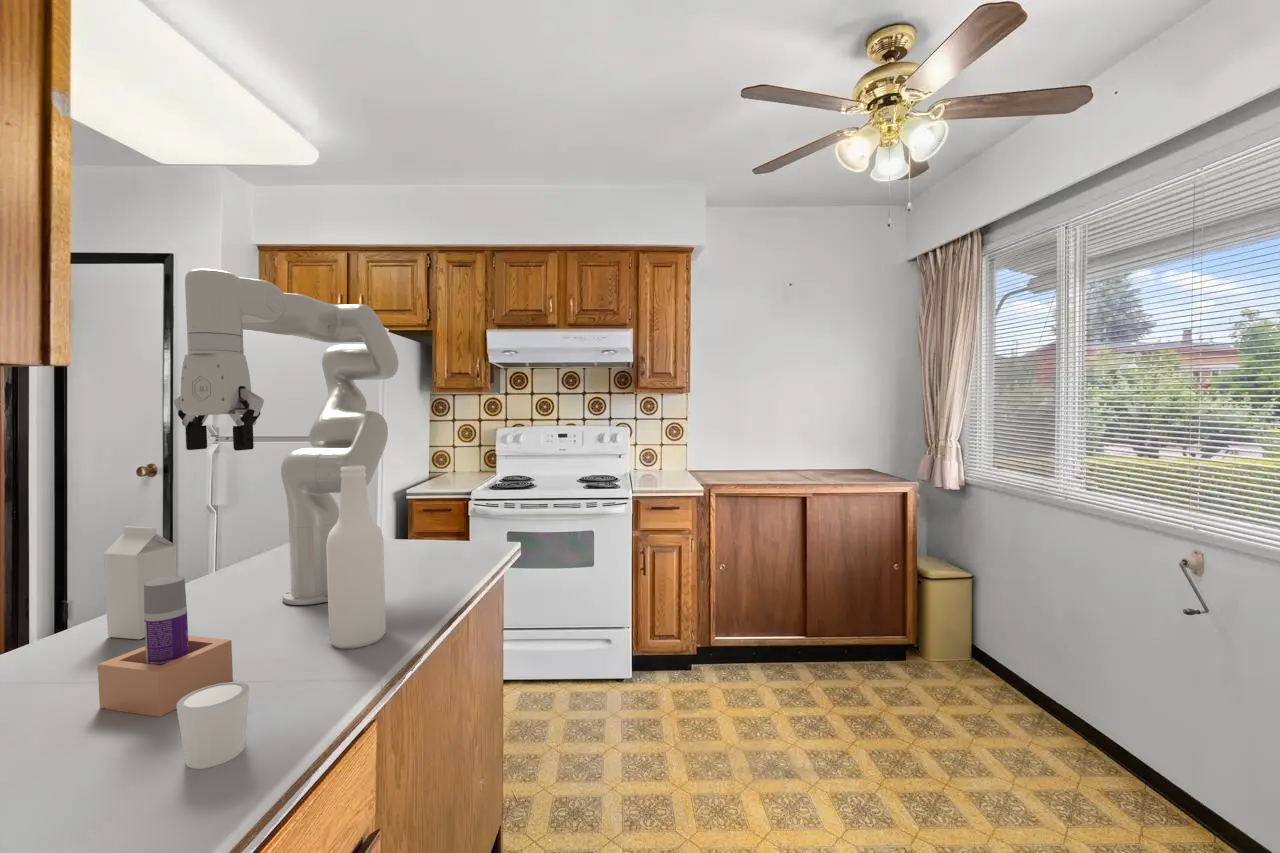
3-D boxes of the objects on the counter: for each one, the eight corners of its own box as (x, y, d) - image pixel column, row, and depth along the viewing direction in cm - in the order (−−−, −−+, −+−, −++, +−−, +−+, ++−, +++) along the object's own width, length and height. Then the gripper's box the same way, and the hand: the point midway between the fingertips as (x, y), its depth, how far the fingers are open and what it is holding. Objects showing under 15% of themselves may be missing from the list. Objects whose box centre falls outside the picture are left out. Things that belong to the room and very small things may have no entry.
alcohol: (318, 650, 96) (312, 469, 95) (347, 629, 105) (342, 464, 104) (370, 650, 96) (365, 469, 94) (395, 629, 104) (390, 463, 103)
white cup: (204, 738, 71) (202, 682, 70) (263, 735, 71) (261, 679, 71) (162, 774, 64) (160, 712, 63) (228, 770, 64) (226, 708, 64)
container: (198, 680, 84) (193, 577, 83) (162, 696, 79) (157, 587, 78) (175, 676, 85) (170, 574, 84) (139, 691, 81) (134, 584, 80)
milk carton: (139, 640, 101) (135, 532, 100) (107, 637, 102) (102, 530, 101) (179, 625, 108) (175, 523, 107) (148, 622, 109) (144, 522, 108)
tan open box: (177, 673, 88) (176, 634, 88) (232, 679, 86) (231, 640, 85) (99, 708, 78) (97, 664, 78) (159, 717, 76) (157, 671, 75)
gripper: (151, 346, 95) (156, 451, 95) (237, 342, 90) (241, 452, 91) (196, 350, 102) (200, 447, 102) (278, 347, 98) (281, 448, 98)
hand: (220, 449), depth 97 cm, fingers open, 9 cm apart
